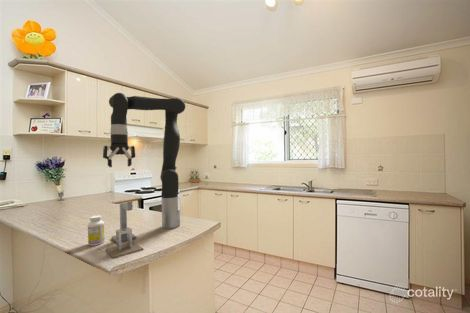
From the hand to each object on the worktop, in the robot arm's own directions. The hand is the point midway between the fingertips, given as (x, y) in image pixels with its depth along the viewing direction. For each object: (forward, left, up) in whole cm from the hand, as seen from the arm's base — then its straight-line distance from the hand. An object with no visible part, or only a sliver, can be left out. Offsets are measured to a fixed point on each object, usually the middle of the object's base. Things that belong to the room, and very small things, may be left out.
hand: (119, 166), depth 113 cm
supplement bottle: (+10, -3, -36) cm, 38 cm away
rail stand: (-1, +3, -36) cm, 36 cm away
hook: (+3, +15, -35) cm, 39 cm away
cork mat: (+3, +15, -36) cm, 39 cm away
